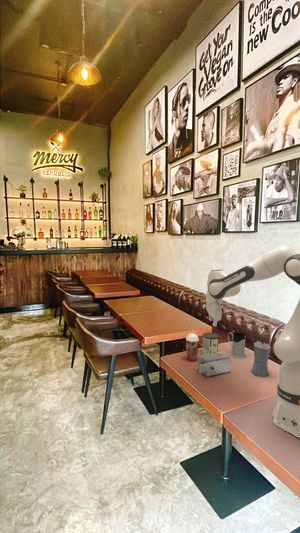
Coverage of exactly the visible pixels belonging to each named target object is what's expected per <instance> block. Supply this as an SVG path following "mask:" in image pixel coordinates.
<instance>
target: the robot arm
mask: <svg viewBox="0 0 300 533" xmlns="http://www.w3.org/2000/svg"><path fill="white" fill-rule="evenodd" d="M283 272H284V273H285V275H286V276H287V277H288V278H289V279H290V280H292V281H294V283H296V284H297V285H298V286H300V253H297V252H296V251H295V250H294V249H293V247H291V246H289V245H287V244H286V245H284V244H283V245H280V246H277V247H275V248H272V249H270V250H268V251H266V252H265V253H262V254H261V255H260V256H258V257H257V258H255V259H254V260H252V261H251V262H249V263H247V264H246V265H244V266H243V267H241V268H239V269H237V270H236V271H234V272H232V273H230V274H227V273H226V271H225V270H223V269H212V270H210V271H209V272H208V276H207V281H206V282H207V284H206V285H207V290H206V293H205V295H204V296H205V309H206V310H205V311H207V313H208V320H209V322H211V321H213V323H212V327H218V326H217V324H218V322H219V321H222V315H223V314H222V313H223V312H222V311H223V310H222V306H221V304H223V301H224V298H229V297H235V296H237V295H239V293H240V292H241V284H245V283H249V282H255V281H263V280H268V279H271V278H274V277H276V276H278V275H280V274H282V273H283ZM273 352H274V354H275V356H276V357H277V358H278V359H279V360H280V361H282V362H281V364H280V367H279V373H278V374H279V376H278V383H277V387H276V394H277V396H276V403H275V406H274V408H273V411H272V415H271V416H272V417H273V425H274V426H276V427H277V428H279V429H281V430H283V431H285V432H286V431H287V432H286V433H288V432H289V433H291V434H293V435H294V436H293V435H292V436H293V437H295V436H296V437H298V438H300V298H299V299H298V302H297V304H296V306H295V308H294V311H293V312H292V315H291V317H290V319H289V320H288V322H287V323H286V325H285V326H284V327H283V329H282V331H281V332H280V335H279V336H278V337H277V339H276V341H275V342H274V343H273ZM289 433H288V434H289ZM291 434H290V435H291ZM296 437H295V438H296ZM298 438H297V439H298Z"/></svg>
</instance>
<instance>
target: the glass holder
mask: <svg viewBox="0 0 300 533" xmlns="http://www.w3.org/2000/svg"><path fill="white" fill-rule="evenodd" d="M230 334H231V337H232V343H231V340H230ZM227 340H228V343H229V345H230V347H231V349H232V351H231V354H230V355H231V357H233V359H240V360H241V359H243V360H244V359H245V358H246V356H245V352H246V351H245V349H246V347H245V346H246V334H245V333H243V332H236V331H235V332H233V333H232V332H228V333H227Z"/></svg>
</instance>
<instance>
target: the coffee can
mask: <svg viewBox="0 0 300 533" xmlns="http://www.w3.org/2000/svg"><path fill="white" fill-rule="evenodd" d="M219 337H220V335H219V334H218V333H215V332H204V333H203V334H202V354H201V355H205V354H210V353H216V352H219Z"/></svg>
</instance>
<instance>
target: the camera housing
mask: <svg viewBox="0 0 300 533" xmlns="http://www.w3.org/2000/svg"><path fill="white" fill-rule="evenodd" d="M226 358H231V357H230V356H229V355H227V354H226V353H224V352H222V351H218V352H216V353H210V354H205V355H202V354H200V355H198V364H197V365H198V366H197V367H198V368H197V371H199V372H200V365H201V364H206V363H207V362H211V361H216V360H221V359H226ZM201 374H203V376H205V377H207V372H202V373H201Z"/></svg>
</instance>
